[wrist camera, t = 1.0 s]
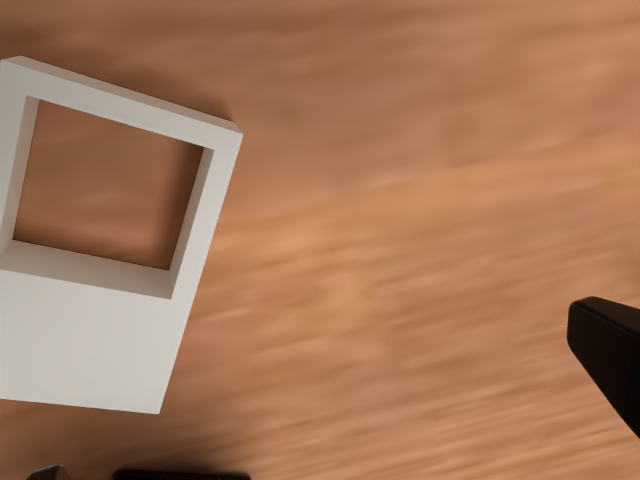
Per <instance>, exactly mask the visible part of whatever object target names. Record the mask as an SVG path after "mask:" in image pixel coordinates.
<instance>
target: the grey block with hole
mask: <svg viewBox="0 0 640 480" xmlns="http://www.w3.org/2000/svg"><path fill="white" fill-rule="evenodd" d="M40 99H41V100H45V101H48V102H52V103H55V104H59V105H62V106H65V107H69V108H72V109H76V110H79V111H83V112H86V113H90V114H93V115H96V116H100V117H103V118H107V119H110V120H114V121H117V122H121V123H124V124H127V125H131V126H134V127H138V128H141V129H145V130H148V131H152V132H155V133H159V134H162V135H165V136H169V137H172V138H176V139H179V140H183V141H186V142H190V143H193V144H196V145H200V146H203V147H204V150H203V154H202V157H201V161H200V164H199V168H198V171H197V175H196V178H195V182H194V185H193V189H192V192H191V196H190V200H189V203H188V207H187V210H186V214H185V217H184V221H183V224H182V228H181V231H180V235H179V238H178V242H177V245H176V249H175V252H174V256H173V259H172V263H171V266H170V270H169V271H168V270H163V269H157V268H152V267H147V266H142V265H137V264H132V263H127V262H122V261H117V260H112V259H107V258H102V257H97V256H92V255H87V254H82V253H77V252H72V251H67V250H62V249H57V248H52V247H47V246H41V245H36V244H31V243H26V242H21V241H16V240H12V238H13V233H14V228H15V223H16V218H17V213H18V208H19V203H20V198H21V192H22V187H23V182H24V177H25V172H26V167H27V162H28V157H29V152H30V147H31V142H32V137H33V132H34V127H35V121H36V116H37V111H38V106H39V101H40ZM243 135H244V134H243V133H242V132H241V131H240V129H239V128H238V127H237V126H236V125H235V123H234V122H231V121H228V120H225V119H222V118H219V117H215V116H212V115H209V114H206V113H203V112H199V111H196V110H193V109H190V108H187V107H184V106H180V105H177V104H174V103H171V102H168V101H164V100H161V99H158V98H155V97H152V96H148V95H145V94H142V93H139V92H136V91H133V90H129V89H126V88H123V87H120V86H117V85H113V84H110V83H107V82H104V81H101V80H97V79H94V78H91V77H88V76H85V75H82V74H78V73H75V72H72V71H69V70H66V69H62V68H59V67H56V66H53V65H50V64H47V63H43V62H40V61H37V60H34V59H31V58H27V57H24V56H17V57H12V58H7V59H2V60H1V63H0V399H10V400H20V401H30V402H40V403H50V404H60V405H71V406H81V407H91V408H101V409H111V410H121V411H131V412H141V413H151V414H159V412H160V409H161V405H162V402H163V399H164V396H165V392H166V389H167V386H168V382H169V379H170V376H171V372H172V369H173V366H174V363H175V359H176V356H177V353H178V349H179V346H180V343H181V339H182V336H183V333H184V330H185V326H186V323H187V320H188V316H189V313H190V310H191V306H192V303H193V300H194V297H195V293H196V290H197V287H198V283H199V280H200V277H201V273H202V270H203V267H204V264H205V260H206V257H207V254H208V250H209V247H210V244H211V240H212V237H213V234H214V231H215V227H216V224H217V221H218V217H219V214H220V211H221V207H222V204H223V201H224V198H225V194H226V191H227V188H228V184H229V181H230V178H231V175H232V171H233V168H234V165H235V161H236V158H237V155H238V151H239V148H240V145H241V142H242V138H243Z"/></svg>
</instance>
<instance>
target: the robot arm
mask: <svg viewBox="0 0 640 480" xmlns="http://www.w3.org/2000/svg"><path fill="white" fill-rule="evenodd" d="M567 342H568V345H569V347H570V349H571V351H572V352H573V354H574V355H575V356H576V358H577V359H578V360H579V362H580V363H581V364H582V366H583V367H584V369H585V370H586V371H587V373H588V374H589V375H590V377H591V378H592V379H593V381H594V382H595V384H596V385H597V386H598V388H599V389H600V390H601V392H602V393H603V394H604V396H605V397H606V398H607V400H608V401H609V403H610V404H611V405H612V407H613V408H614V409H615V410H616V412H617V413H618V414H619V416H620V417H621V418H622V419H623V420H624V422H625V423H626V424H627V425H628V426H629V427H630V429H631V430H632V431H633V432H634V433H635V434H636V435H637V436H638V438H639V439H640V309H638V308H634V307H630V306H627V305H623V304H620V303H616V302H613V301H609V300H606V299H602V298H598V297H594V296H590V297H586V298H583V299H580V300H577V301H574V302H572V303H571V305H570V307H569V313H568V327H567ZM27 480H72V479H71V477H70V475H69V473H68V471H67V470H66V468H65V467H64V466H63V465H61V464H55V465H52V466H49V467H45V468H42V469H39V470H36V471H34V472H33V473H32V474H31V475H30V476H29V477H28V478H27ZM110 480H252V479H250V478H249V477H243V476H226V475H210V474H193V473H177V472H160V471H143V470H127V469H124V470H119V471H116V472H115V473H114V474H113V475H112V477H111V479H110Z"/></svg>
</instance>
